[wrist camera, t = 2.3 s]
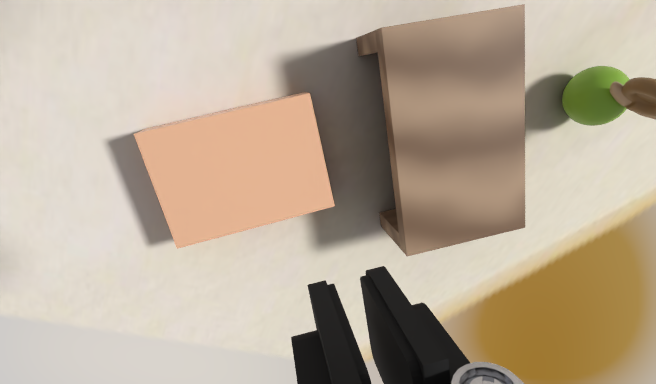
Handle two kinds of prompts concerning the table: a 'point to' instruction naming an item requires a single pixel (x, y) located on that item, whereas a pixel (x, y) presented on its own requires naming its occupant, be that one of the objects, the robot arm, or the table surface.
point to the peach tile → (237, 168)
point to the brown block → (453, 126)
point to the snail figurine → (607, 96)
